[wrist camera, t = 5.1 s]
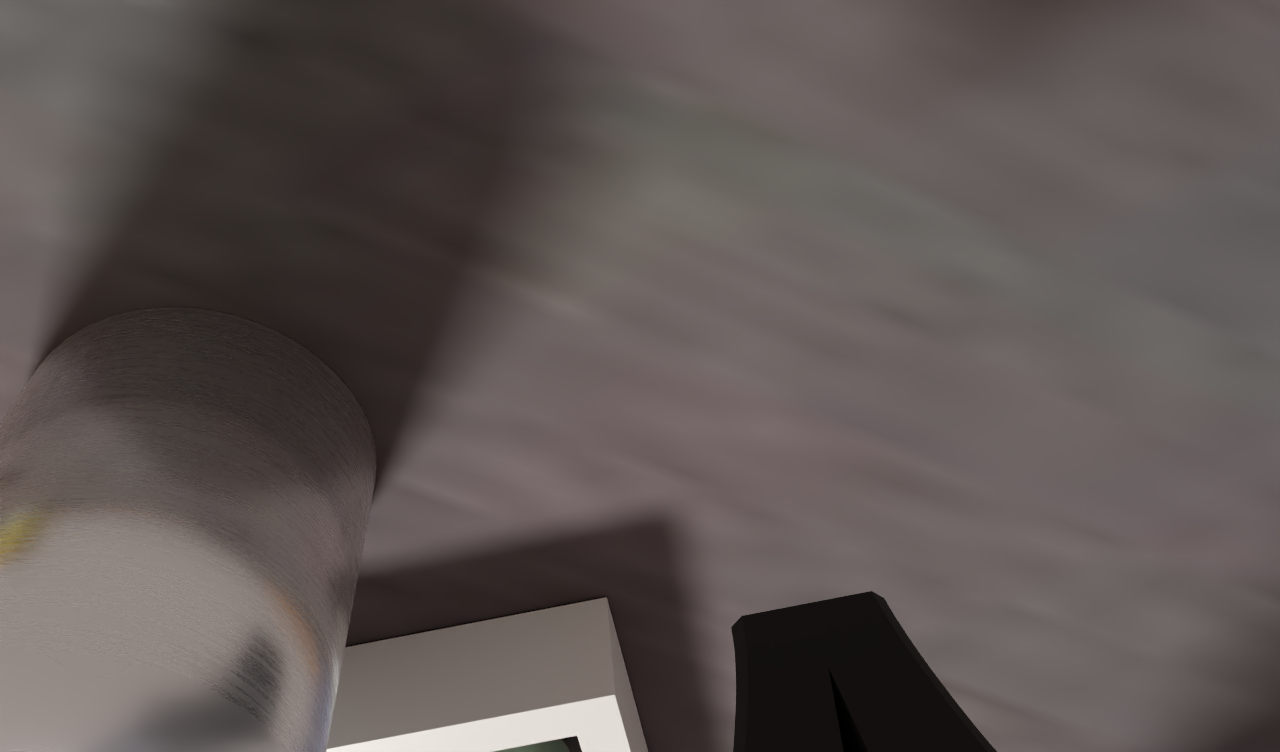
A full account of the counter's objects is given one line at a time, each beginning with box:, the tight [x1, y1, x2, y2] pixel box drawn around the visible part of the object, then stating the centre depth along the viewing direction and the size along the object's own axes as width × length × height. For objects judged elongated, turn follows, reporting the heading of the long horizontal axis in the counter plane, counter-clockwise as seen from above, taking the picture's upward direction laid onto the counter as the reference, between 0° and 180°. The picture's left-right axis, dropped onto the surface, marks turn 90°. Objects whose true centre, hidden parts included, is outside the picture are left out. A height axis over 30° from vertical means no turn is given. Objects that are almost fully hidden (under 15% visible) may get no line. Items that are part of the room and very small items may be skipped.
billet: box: [0, 307, 377, 752], centre depth 14 cm, size 5×5×6 cm
